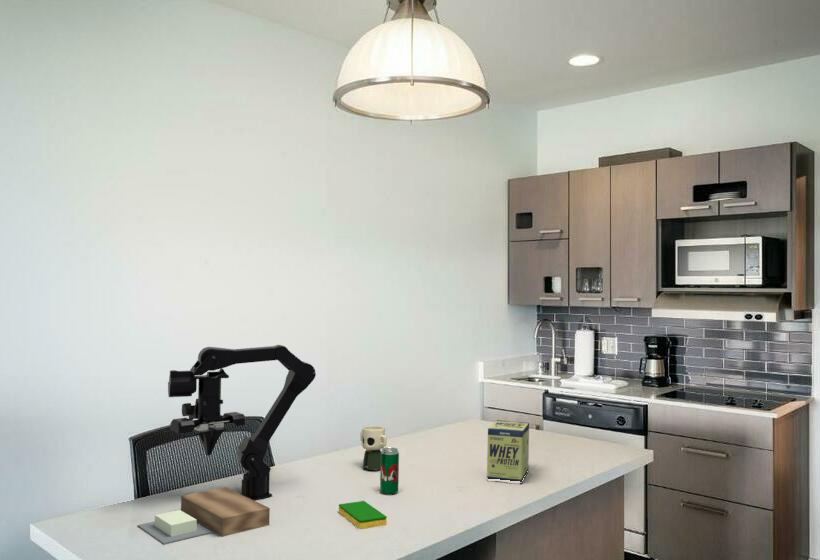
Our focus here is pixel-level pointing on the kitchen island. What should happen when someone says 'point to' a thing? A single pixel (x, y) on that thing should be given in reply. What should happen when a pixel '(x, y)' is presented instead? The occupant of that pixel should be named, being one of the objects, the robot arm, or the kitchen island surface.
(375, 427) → the character mug
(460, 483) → the kitchen island surface
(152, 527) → the slate mat
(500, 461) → the protein box
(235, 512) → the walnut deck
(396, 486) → the soda can
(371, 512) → the dish sponge
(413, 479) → the kitchen island surface
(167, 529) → the sage tile
